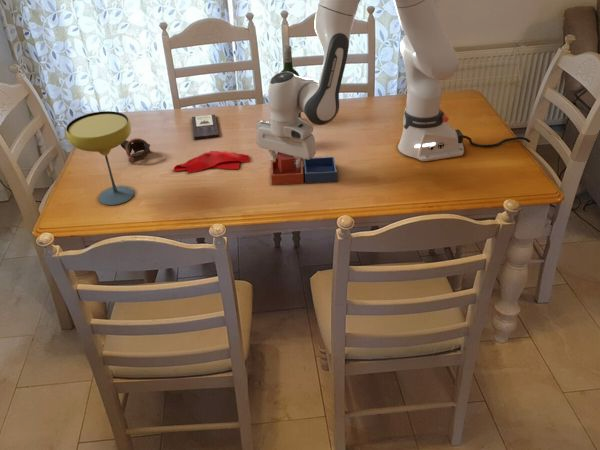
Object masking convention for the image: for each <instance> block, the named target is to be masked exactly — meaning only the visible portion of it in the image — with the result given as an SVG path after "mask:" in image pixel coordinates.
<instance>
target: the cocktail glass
mask: <svg viewBox="0 0 600 450" xmlns="http://www.w3.org/2000/svg"><path fill="white" fill-rule="evenodd" d="M131 132H132V125H131V121H130V118H129V117H128V116H127V115H126V114H125V113H122V112H118V111H110V110H108V111H107V110H106V111H105V110H104V111H95V112H90V113H87V114H84V115H81V116H78V117H77V118H76V117H75V118H73V120H71V121H70V122H69V123H68V124H67V125H66V127H65V134H66V137H67V138H66V139H67V141H68V142H69V144H71V146H73V147H75V149H79V150H82V151H84V152H92V153H93V152H94V153H99V154H100V155H102V156H104V158H105V161H106V165H107V169H108V174H109V176H110V181H111V186H112V187H109V188H107V189H106V190H104V191H101V193H100V194H99V196H98V201H99V202H100V203H101V204H102V205H105V206H118V205H123V204H126V203H127V202H129V201H130V200H132V198H134V195H135V192H134V190H133V188H131V187H128V186H125V185H124V186H121V185H119V186H116V183H115V180H114V177H113V173H112V168H111V165H110V162H109V158H108V155H109V154H110V153H111V150H112V149H114V148H116V147H118V146H121V145H120V144H122V143H123V142H124V141H125V140H128V138H129V137H130V135H131Z"/></svg>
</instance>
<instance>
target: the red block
mask: <svg viewBox="0 0 600 450" xmlns="http://www.w3.org/2000/svg"><path fill="white" fill-rule="evenodd" d="M276 155H277V163H278V168H279V170H280V172H281V173H287V172H293V171H296V168H295V167H294V162H295V159H296V157H295V156H291V155H287V154H283V153H279V154H278V153H276Z"/></svg>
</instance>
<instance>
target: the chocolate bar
mask: <svg viewBox="0 0 600 450" xmlns="http://www.w3.org/2000/svg"><path fill="white" fill-rule="evenodd" d="M191 120H192V129H193V140H201V139H211V138H219V130H218V126H217V125H218V124H217V120H216V114H207V115H196V116H191Z"/></svg>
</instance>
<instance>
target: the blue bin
mask: <svg viewBox="0 0 600 450" xmlns="http://www.w3.org/2000/svg"><path fill="white" fill-rule="evenodd" d="M302 162H303V176H304V182H305V184H315V183H317V184H318V183H333V182H334V183H336V182H338V170H337V165H336V160H335V156H321V157H312V158H311V159H310V160H307V159H302Z"/></svg>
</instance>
